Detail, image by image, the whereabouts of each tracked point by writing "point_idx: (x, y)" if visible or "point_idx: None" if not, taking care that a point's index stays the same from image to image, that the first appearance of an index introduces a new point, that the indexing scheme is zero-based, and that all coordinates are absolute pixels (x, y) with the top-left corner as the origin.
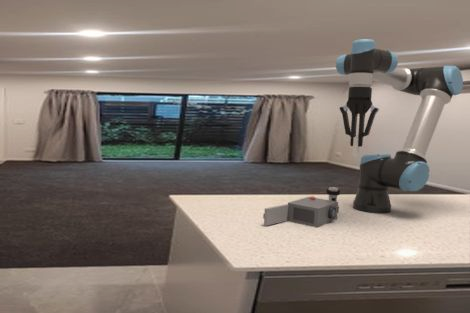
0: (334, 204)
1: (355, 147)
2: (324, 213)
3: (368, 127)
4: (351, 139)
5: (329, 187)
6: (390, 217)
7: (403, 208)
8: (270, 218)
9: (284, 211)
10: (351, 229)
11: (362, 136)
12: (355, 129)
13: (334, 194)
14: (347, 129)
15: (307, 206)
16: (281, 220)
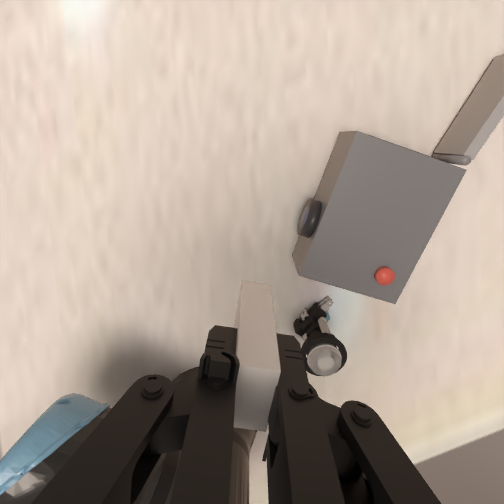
0: (308, 248)
1: (255, 312)
2: (331, 176)
3: (88, 458)
4: (298, 370)
5: (339, 362)
6: (160, 340)
7: None
8: (498, 70)
9: (461, 139)
10: (246, 161)
11: (194, 384)
12: (276, 481)
13: (316, 334)
14: (374, 452)
15: (396, 145)
16: (452, 127)
